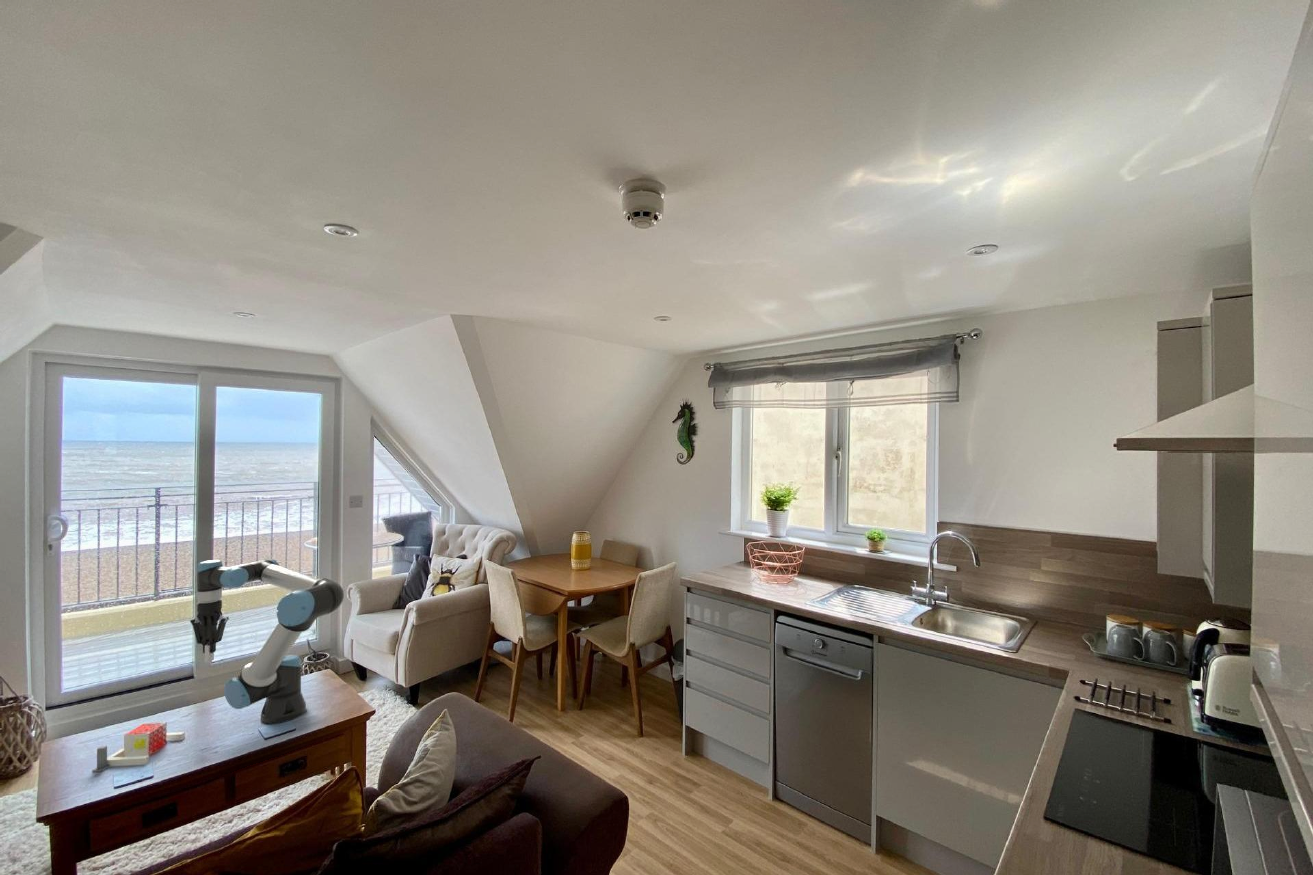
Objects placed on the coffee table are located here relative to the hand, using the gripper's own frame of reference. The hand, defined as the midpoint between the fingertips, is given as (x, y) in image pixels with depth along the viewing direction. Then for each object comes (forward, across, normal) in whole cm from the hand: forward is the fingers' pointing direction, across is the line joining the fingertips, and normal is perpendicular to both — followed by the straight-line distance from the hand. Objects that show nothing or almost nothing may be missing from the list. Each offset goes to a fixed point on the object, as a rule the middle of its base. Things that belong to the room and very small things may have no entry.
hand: (209, 660), depth 213 cm
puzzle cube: (+25, +8, +18) cm, 32 cm away
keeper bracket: (+24, +8, +20) cm, 33 cm away
